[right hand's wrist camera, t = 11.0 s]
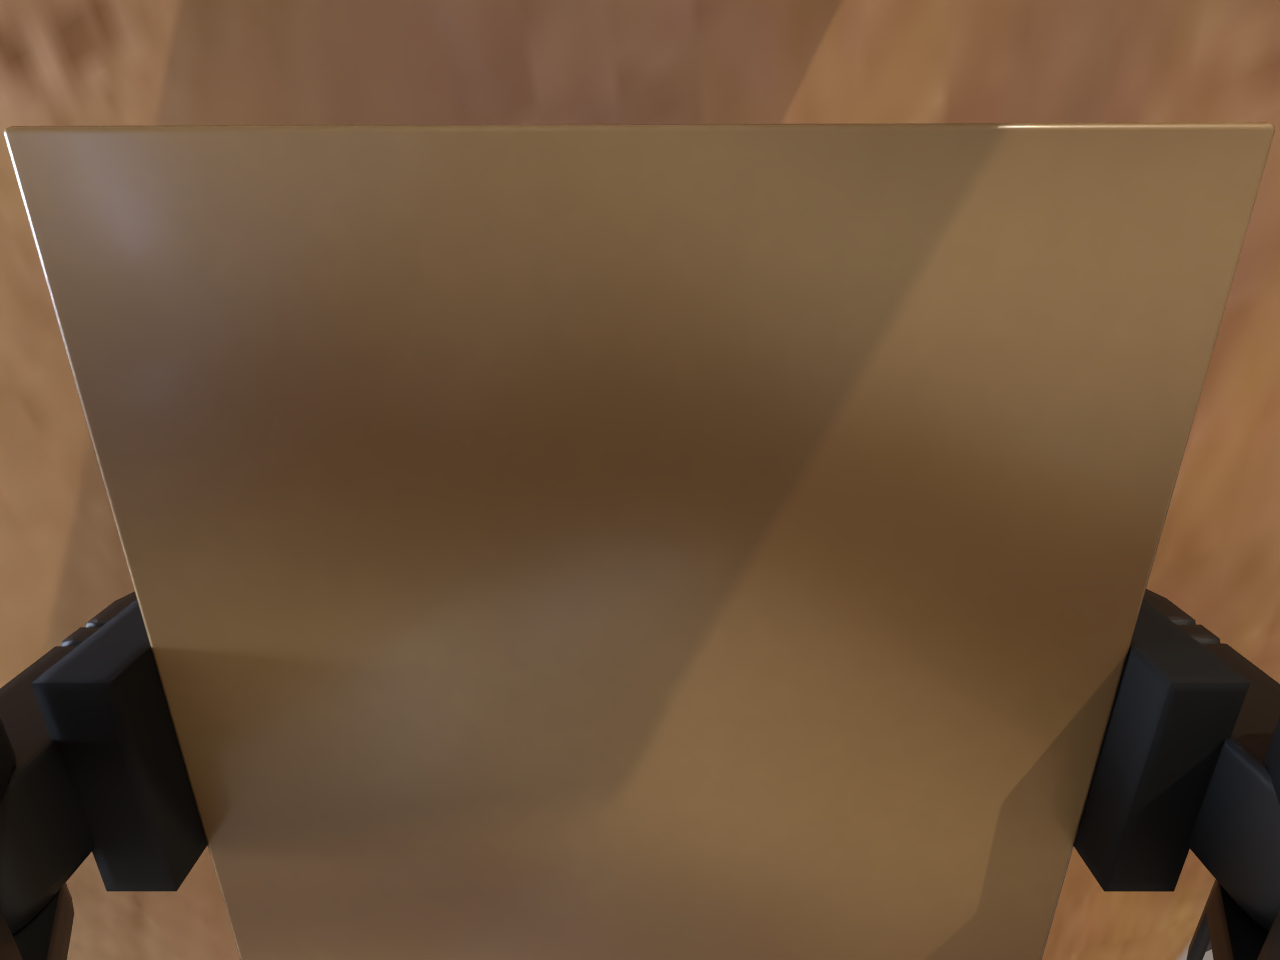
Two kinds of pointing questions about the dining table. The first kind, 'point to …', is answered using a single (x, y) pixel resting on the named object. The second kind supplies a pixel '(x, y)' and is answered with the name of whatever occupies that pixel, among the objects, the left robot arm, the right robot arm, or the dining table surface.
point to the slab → (640, 510)
